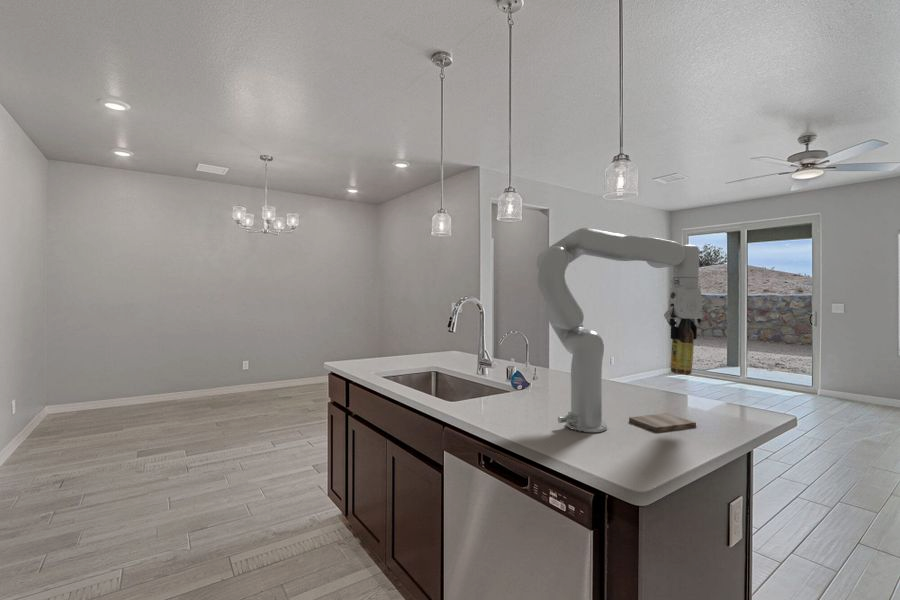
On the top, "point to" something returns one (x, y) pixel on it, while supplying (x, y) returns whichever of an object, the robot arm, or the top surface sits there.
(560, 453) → the top surface
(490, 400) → the top surface
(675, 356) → the sauce bottle
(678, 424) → the walnut board
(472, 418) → the top surface
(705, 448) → the top surface
